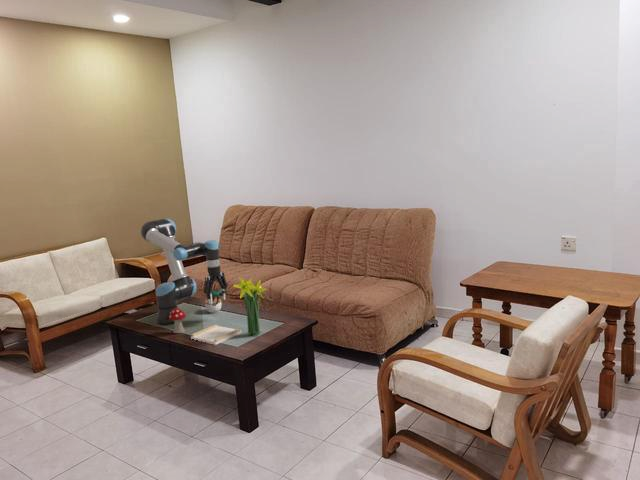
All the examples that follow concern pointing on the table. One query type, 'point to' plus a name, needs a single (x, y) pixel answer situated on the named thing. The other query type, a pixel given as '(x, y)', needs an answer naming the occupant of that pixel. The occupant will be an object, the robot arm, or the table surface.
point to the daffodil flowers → (249, 289)
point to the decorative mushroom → (177, 320)
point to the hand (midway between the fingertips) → (217, 301)
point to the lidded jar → (212, 308)
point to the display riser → (215, 334)
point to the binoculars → (217, 295)
